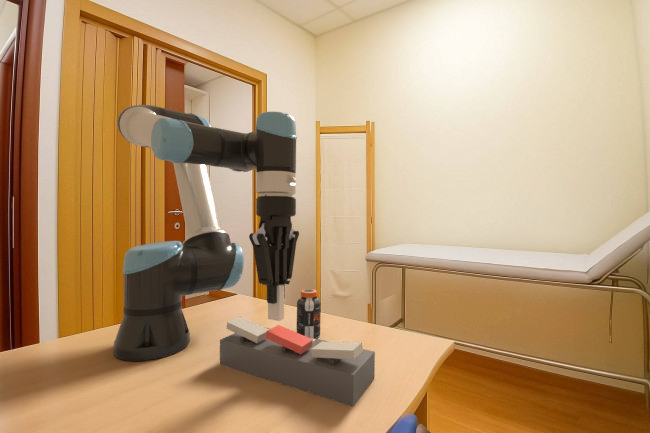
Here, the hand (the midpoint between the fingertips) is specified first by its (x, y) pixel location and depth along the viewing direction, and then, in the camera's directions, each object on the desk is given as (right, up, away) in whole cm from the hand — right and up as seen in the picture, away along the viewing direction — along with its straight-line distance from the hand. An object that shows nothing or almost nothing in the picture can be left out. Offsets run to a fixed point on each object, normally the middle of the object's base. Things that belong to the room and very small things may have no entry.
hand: (275, 318), depth 62 cm
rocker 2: (+12, -4, -6) cm, 13 cm away
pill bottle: (+5, -10, +19) cm, 22 cm away
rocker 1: (-6, -3, +3) cm, 8 cm away
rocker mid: (+3, -3, -1) cm, 4 cm away
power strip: (+3, -10, 0) cm, 11 cm away
